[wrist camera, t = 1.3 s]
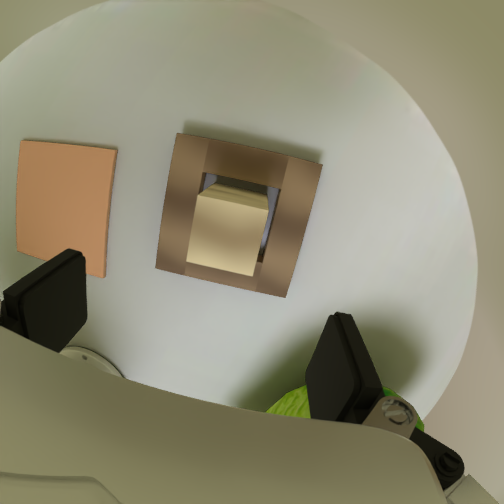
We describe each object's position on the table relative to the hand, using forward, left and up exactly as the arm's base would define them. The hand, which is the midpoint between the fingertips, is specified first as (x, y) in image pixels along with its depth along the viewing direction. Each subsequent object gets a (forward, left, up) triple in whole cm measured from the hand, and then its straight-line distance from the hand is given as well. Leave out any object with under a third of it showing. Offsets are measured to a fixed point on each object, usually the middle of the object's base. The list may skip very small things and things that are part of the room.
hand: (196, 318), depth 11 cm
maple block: (0, 0, -20) cm, 20 cm away
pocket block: (0, 0, -20) cm, 20 cm away
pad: (-3, +20, -20) cm, 28 cm away
